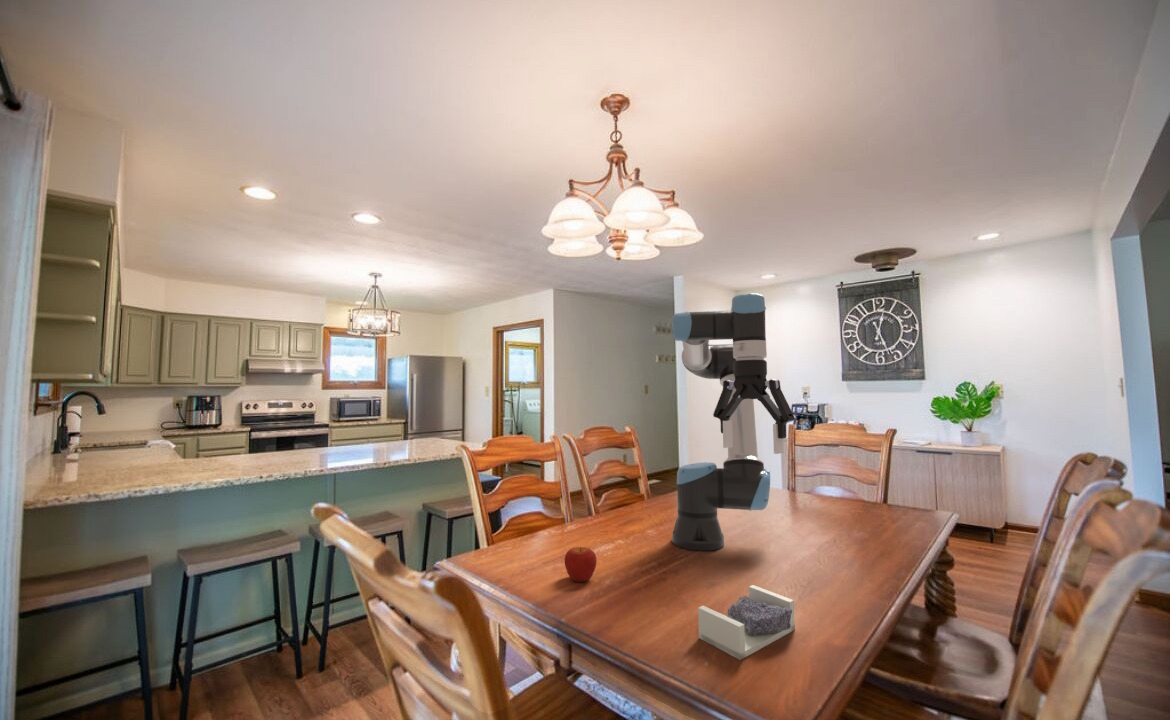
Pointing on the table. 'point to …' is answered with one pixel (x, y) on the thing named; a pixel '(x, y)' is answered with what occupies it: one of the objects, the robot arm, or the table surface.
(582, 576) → the apple
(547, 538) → the table surface
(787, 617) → the rock
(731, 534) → the table surface
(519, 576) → the table surface
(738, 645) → the u rest
